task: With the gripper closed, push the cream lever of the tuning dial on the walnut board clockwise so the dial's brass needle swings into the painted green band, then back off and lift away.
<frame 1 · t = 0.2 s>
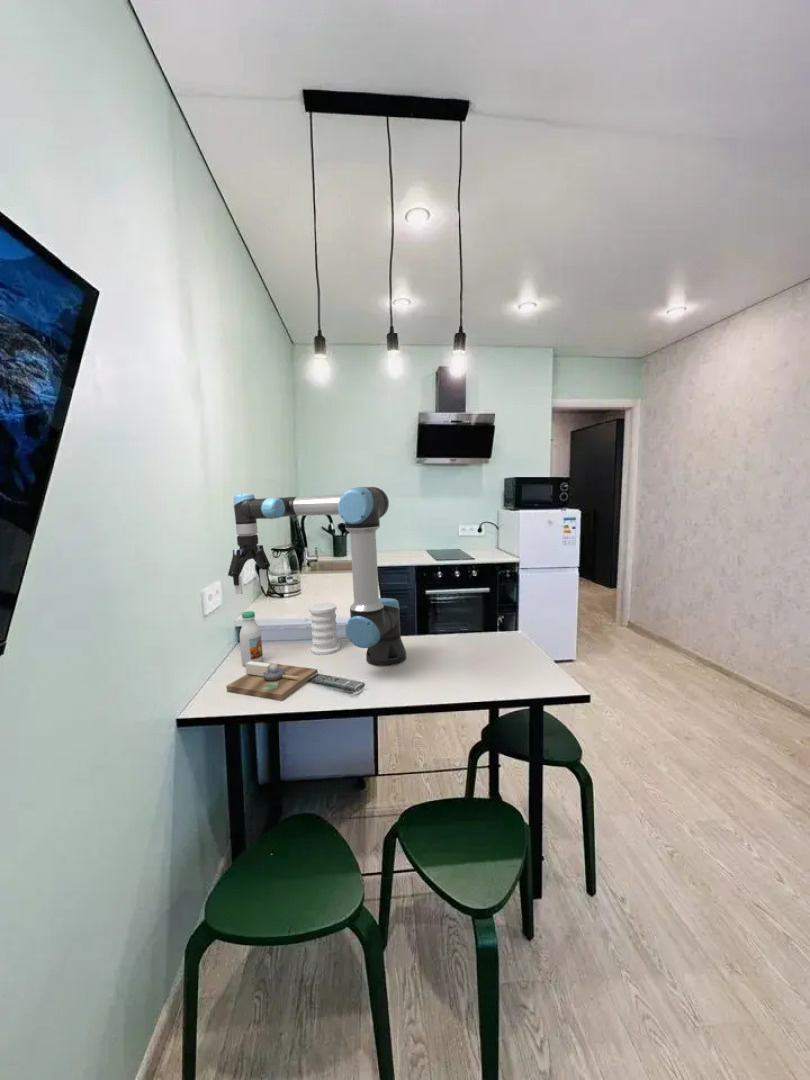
hand: (252, 589, 168), 28 cm above the table, fingers open, 13 cm apart
board: (273, 682, 148), on the table
tuning dial: (272, 670, 148), point 4 cm above the table, hinge at 0.0°
milk bottle: (252, 663, 167), on the table
decorative container: (325, 650, 178), on the table
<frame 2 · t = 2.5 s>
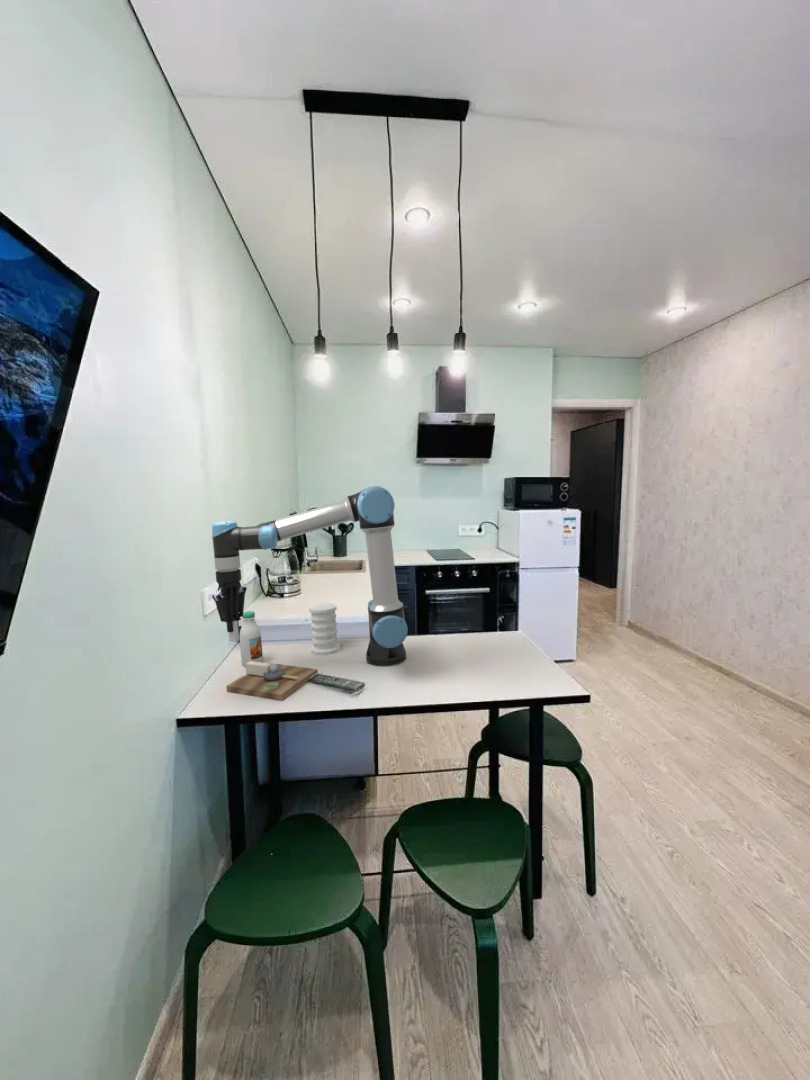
hand: (234, 640, 142), 17 cm above the table, fingers closed
nothing on the table moved.
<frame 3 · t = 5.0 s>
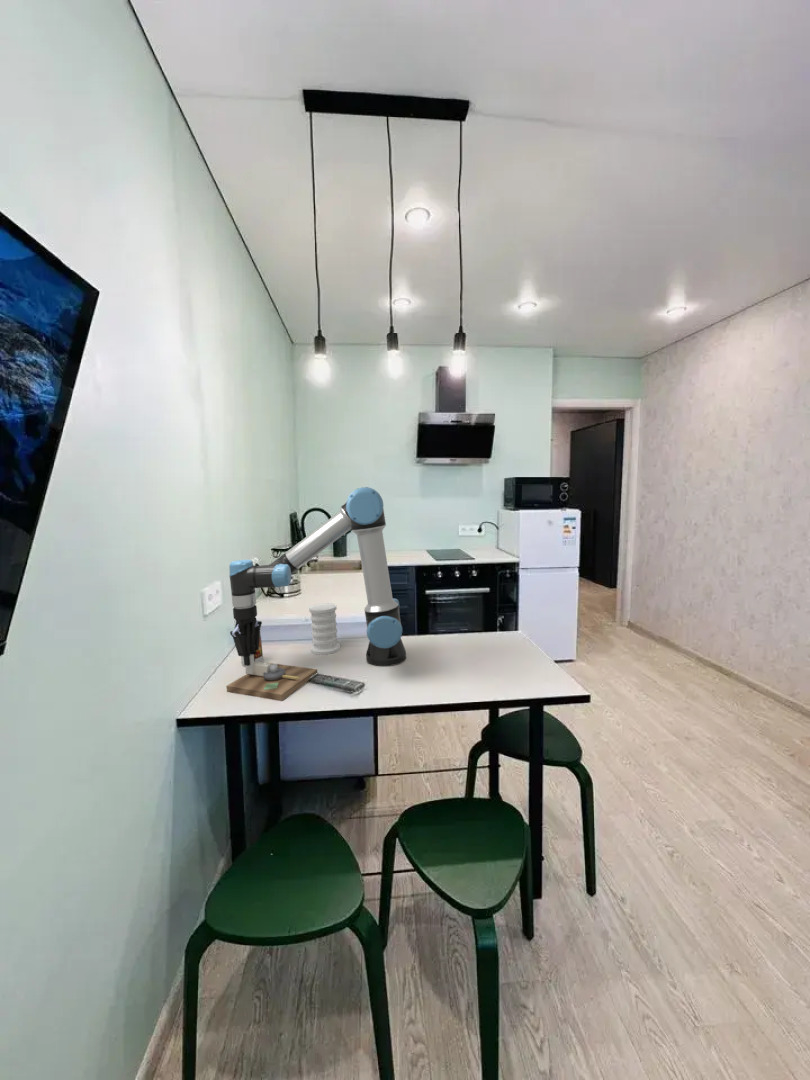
hand: (250, 673, 149), 3 cm above the table, fingers closed
tuning dial: (272, 670, 148), point 4 cm above the table, hinge at 0.0°, touching gripper
everything else where it was.
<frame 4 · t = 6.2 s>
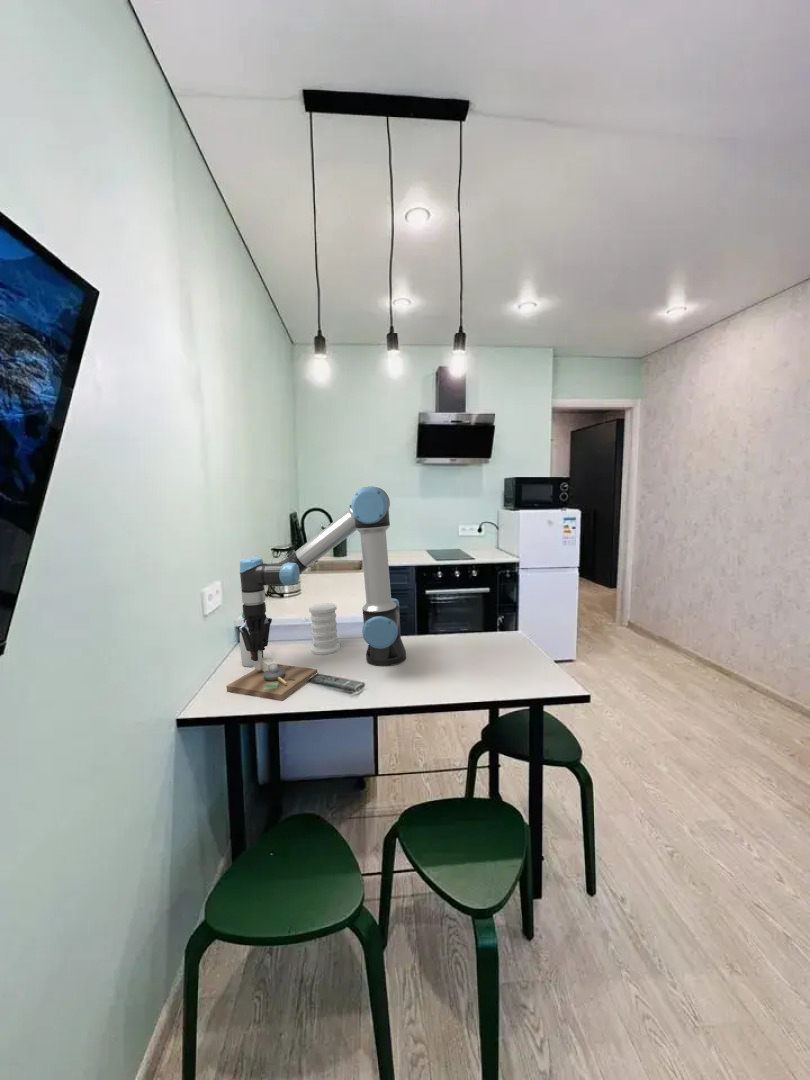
hand: (258, 668, 153), 3 cm above the table, fingers closed
tuning dial: (273, 669, 148), point 4 cm above the table, hinge at -29.3°, touching gripper
everything else where it was.
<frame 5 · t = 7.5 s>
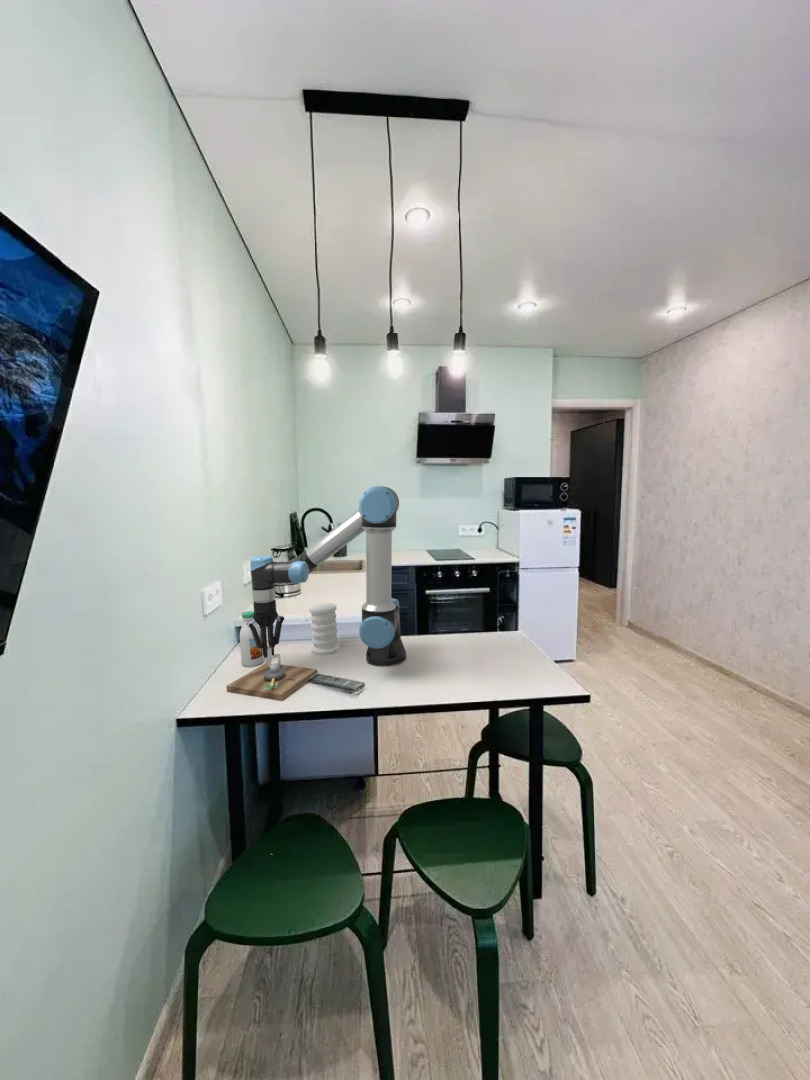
hand: (269, 665, 155), 3 cm above the table, fingers closed
tuning dial: (274, 669, 148), point 4 cm above the table, hinge at -56.8°, touching gripper
everything else where it was.
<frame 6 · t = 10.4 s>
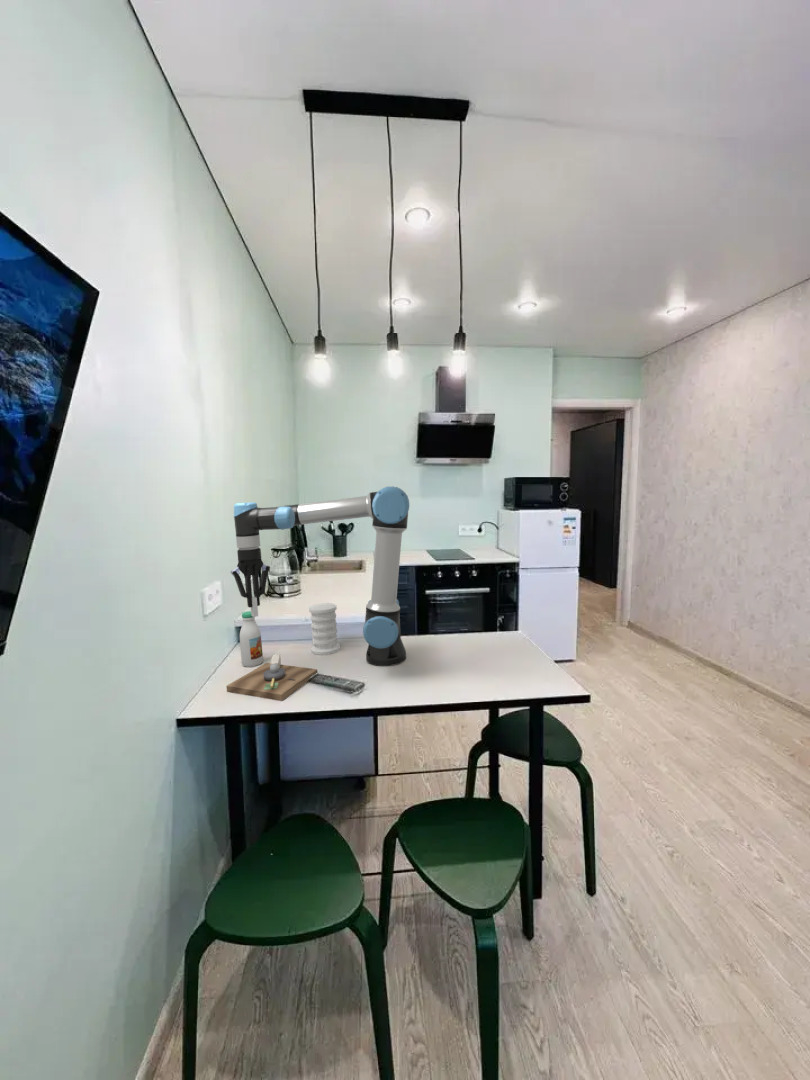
hand: (254, 615, 150), 22 cm above the table, fingers closed
tuning dial: (274, 669, 148), point 4 cm above the table, hinge at -56.8°
everything else where it was.
at the end: tuning dial at -57° (first picture: +0°) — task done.
